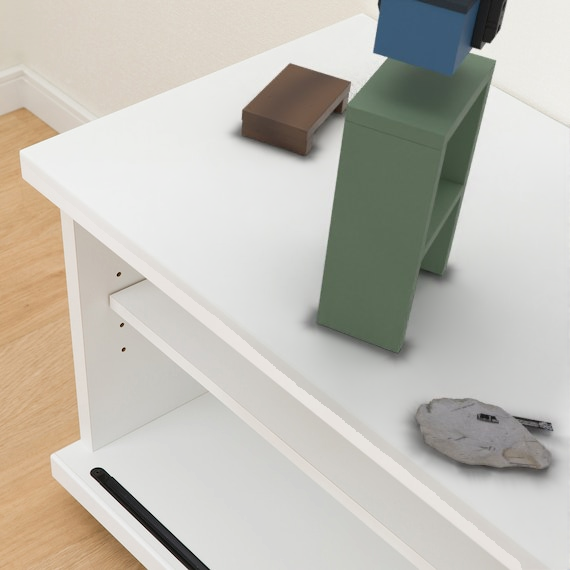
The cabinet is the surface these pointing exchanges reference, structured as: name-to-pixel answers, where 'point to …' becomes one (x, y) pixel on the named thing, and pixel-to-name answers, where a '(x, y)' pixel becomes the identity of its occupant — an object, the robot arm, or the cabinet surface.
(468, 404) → the grey tagged lumpy block
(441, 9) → the box
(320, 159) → the cabinet surface
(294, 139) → the brown footstool
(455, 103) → the high shelf
